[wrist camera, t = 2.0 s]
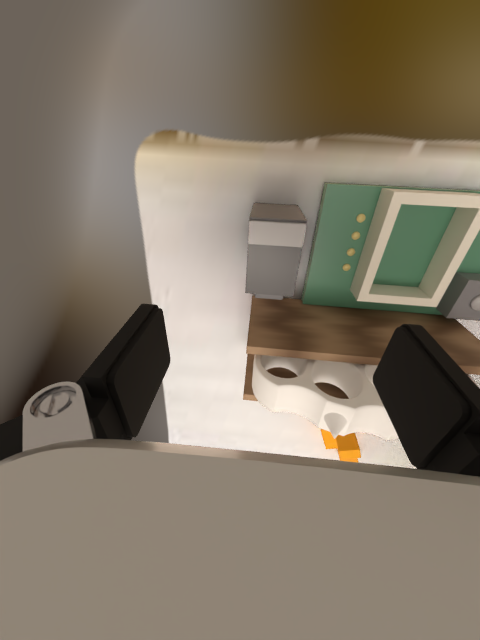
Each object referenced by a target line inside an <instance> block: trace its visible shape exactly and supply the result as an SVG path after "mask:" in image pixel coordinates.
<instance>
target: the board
mask: <svg viewBox="0 0 480 640" xmlns="http://www.w3.org/2000/svg"><path fill="white" fill-rule="evenodd" d="M302 303H303V304H309V305H322V306H335V307H347V308H360V309H373V310H385V311H398V312H411V313H423V314H436V315H444V316H445V317H446V318H453V319H466V320H478V321H480V190H460V189H440V188H421V187H401V186H381V185H361V184H341V183H325V184H324V189H323V194H322V199H321V204H320V209H319V214H318V219H317V224H316V229H315V234H314V239H313V244H312V249H311V254H310V259H309V264H308V269H307V274H306V279H305V284H304V289H303V294H302Z"/></svg>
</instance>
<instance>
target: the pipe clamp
mask: <svg viewBox="0 0 480 640" xmlns="http://www.w3.org/2000/svg"><path fill="white" fill-rule="evenodd" d="M321 432H322V436H323V440H324V444H325V447H326V449H334V448H337V449H338V454H339V458H340V461H347V462H357V463H358V459H357V458H361V454H360V448H359V445H358V442H357V439H356V436H355V433H350V434H347V435H345V436H341V435H338V436H337V437H336V438H335V439H334V438H333V436H332V434H331V432H329V431H326V430H323V429H321Z"/></svg>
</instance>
